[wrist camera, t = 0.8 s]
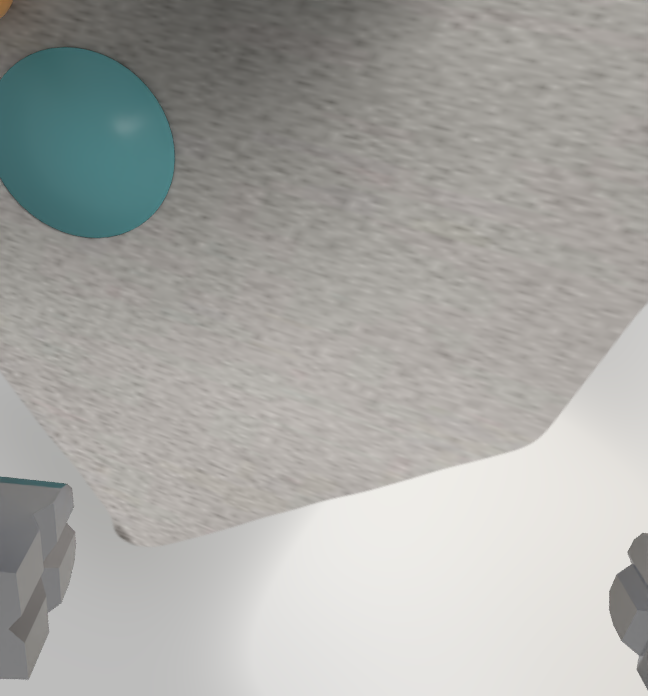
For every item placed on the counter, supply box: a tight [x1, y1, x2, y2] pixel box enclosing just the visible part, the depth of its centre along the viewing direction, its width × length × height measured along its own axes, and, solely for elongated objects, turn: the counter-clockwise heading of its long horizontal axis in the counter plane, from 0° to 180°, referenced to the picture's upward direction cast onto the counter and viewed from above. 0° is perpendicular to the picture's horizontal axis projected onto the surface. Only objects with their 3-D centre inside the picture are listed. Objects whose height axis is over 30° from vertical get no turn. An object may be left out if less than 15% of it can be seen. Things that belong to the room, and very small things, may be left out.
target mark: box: [0, 47, 175, 238], centre depth 47 cm, size 14×14×1 cm
